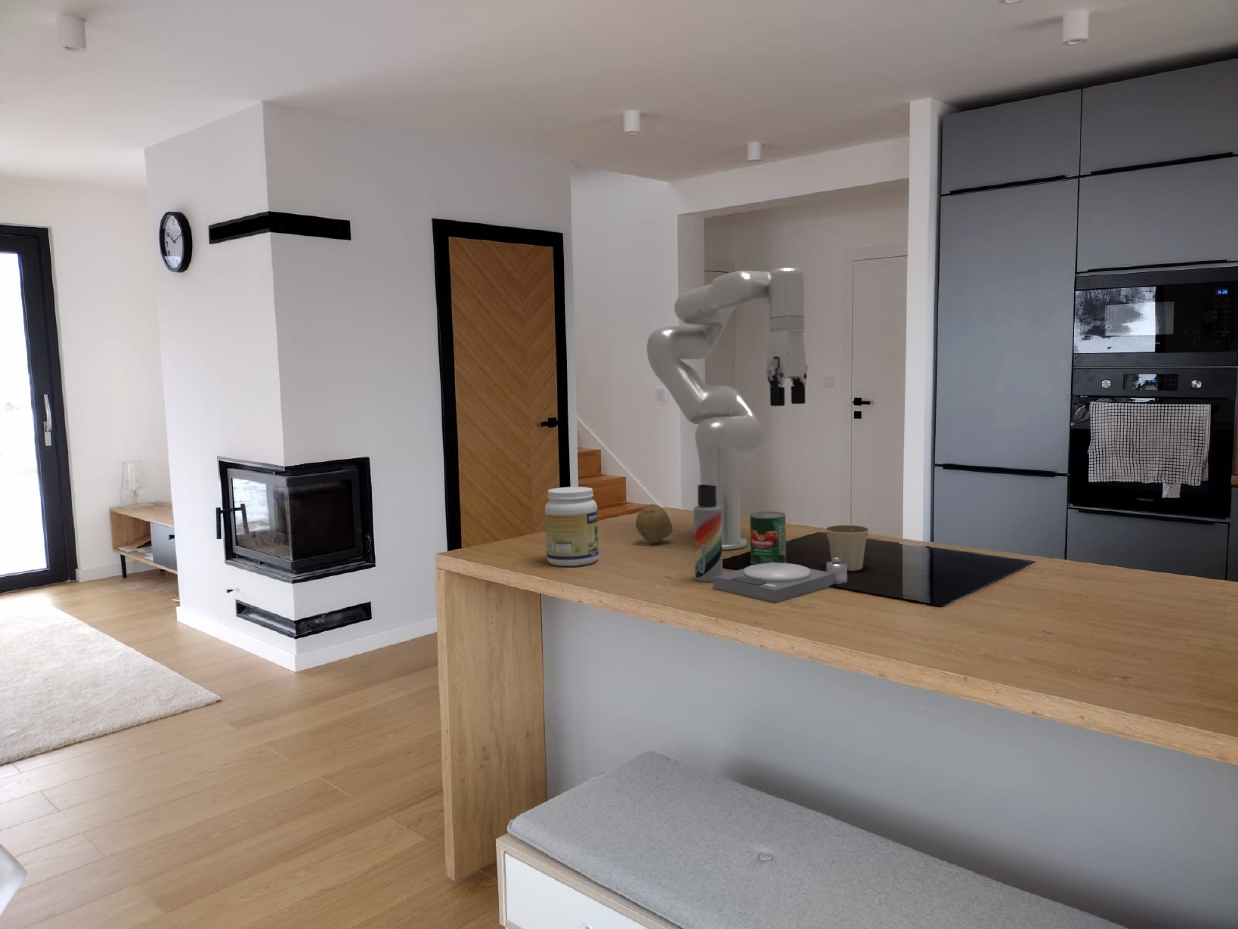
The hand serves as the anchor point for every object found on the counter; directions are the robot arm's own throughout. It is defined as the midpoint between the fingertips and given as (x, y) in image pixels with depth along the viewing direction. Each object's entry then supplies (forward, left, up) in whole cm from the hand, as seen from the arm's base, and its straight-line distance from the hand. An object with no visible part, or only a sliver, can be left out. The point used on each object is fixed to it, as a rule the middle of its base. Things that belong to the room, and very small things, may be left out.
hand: (788, 404), depth 193 cm
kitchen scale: (+12, -20, -35) cm, 42 cm away
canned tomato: (-3, -4, -35) cm, 36 cm away
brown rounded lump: (-39, -6, -35) cm, 53 cm away
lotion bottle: (-2, -24, -35) cm, 43 cm away
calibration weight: (+19, -9, -35) cm, 41 cm away
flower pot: (+13, +3, -35) cm, 38 cm away
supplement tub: (-37, -33, -35) cm, 61 cm away
